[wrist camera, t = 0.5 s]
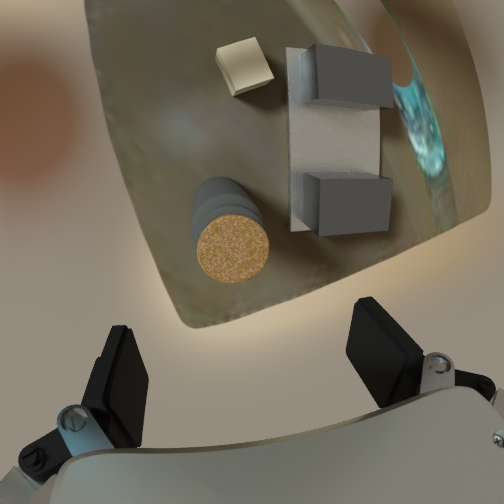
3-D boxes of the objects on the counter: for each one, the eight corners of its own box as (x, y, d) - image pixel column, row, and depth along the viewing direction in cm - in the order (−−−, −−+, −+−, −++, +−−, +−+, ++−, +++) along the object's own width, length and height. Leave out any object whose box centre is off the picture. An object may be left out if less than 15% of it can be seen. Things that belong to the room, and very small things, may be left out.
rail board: (283, 49, 26) (300, 33, 20) (372, 62, 27) (399, 54, 22) (288, 229, 34) (304, 246, 29) (371, 222, 36) (396, 237, 31)
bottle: (233, 167, 31) (258, 191, 17) (253, 213, 33) (290, 269, 19) (185, 190, 31) (171, 231, 17) (208, 234, 33) (212, 304, 19)
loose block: (215, 59, 25) (217, 48, 22) (248, 48, 25) (254, 37, 22) (232, 96, 27) (236, 90, 24) (265, 85, 27) (274, 78, 24)
